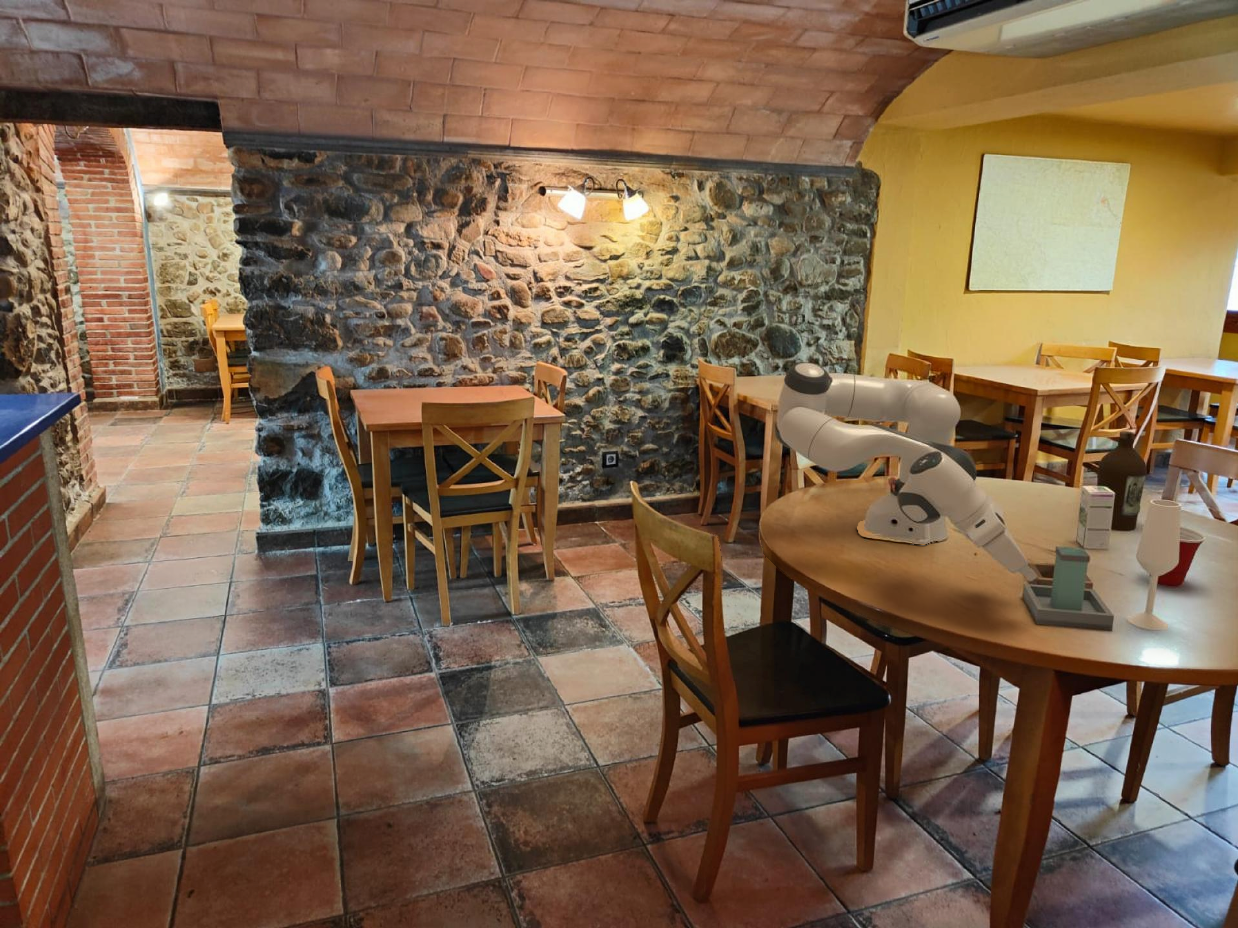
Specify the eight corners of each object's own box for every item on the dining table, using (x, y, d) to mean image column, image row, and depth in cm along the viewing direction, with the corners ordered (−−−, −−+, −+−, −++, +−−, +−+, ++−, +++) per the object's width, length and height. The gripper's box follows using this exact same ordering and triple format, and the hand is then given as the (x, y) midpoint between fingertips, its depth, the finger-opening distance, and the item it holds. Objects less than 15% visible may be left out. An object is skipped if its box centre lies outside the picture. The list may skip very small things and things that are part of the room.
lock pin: (1055, 612, 155) (1062, 554, 152) (1049, 602, 160) (1055, 546, 157) (1082, 614, 154) (1089, 556, 151) (1075, 604, 158) (1082, 548, 155)
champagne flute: (1122, 613, 156) (1138, 496, 150) (1161, 616, 154) (1179, 499, 149) (1132, 627, 150) (1150, 507, 144) (1173, 631, 148) (1193, 509, 142)
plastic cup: (1200, 596, 163) (1209, 541, 161) (1138, 586, 169) (1145, 533, 166) (1196, 578, 172) (1204, 526, 169) (1137, 569, 178) (1144, 518, 175)
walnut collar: (1036, 592, 167) (1037, 579, 166) (1025, 574, 177) (1027, 561, 176) (1091, 596, 164) (1093, 583, 163) (1077, 578, 174) (1079, 565, 173)
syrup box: (1109, 550, 190) (1117, 492, 187) (1082, 548, 191) (1089, 491, 188) (1100, 542, 196) (1107, 485, 192) (1074, 540, 197) (1081, 485, 193)
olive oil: (1082, 522, 210) (1093, 430, 204) (1108, 516, 215) (1120, 426, 209) (1121, 534, 201) (1134, 438, 195) (1147, 527, 205) (1161, 433, 199)
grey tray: (1036, 623, 153) (1037, 609, 152) (1022, 597, 165) (1023, 583, 164) (1112, 630, 149) (1114, 615, 148) (1092, 602, 161) (1094, 589, 160)
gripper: (958, 513, 167) (1004, 560, 167) (974, 545, 148) (1025, 598, 148) (983, 494, 165) (1029, 542, 165) (1002, 524, 146) (1054, 578, 146)
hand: (1027, 569), depth 156 cm, fingers open, 8 cm apart
